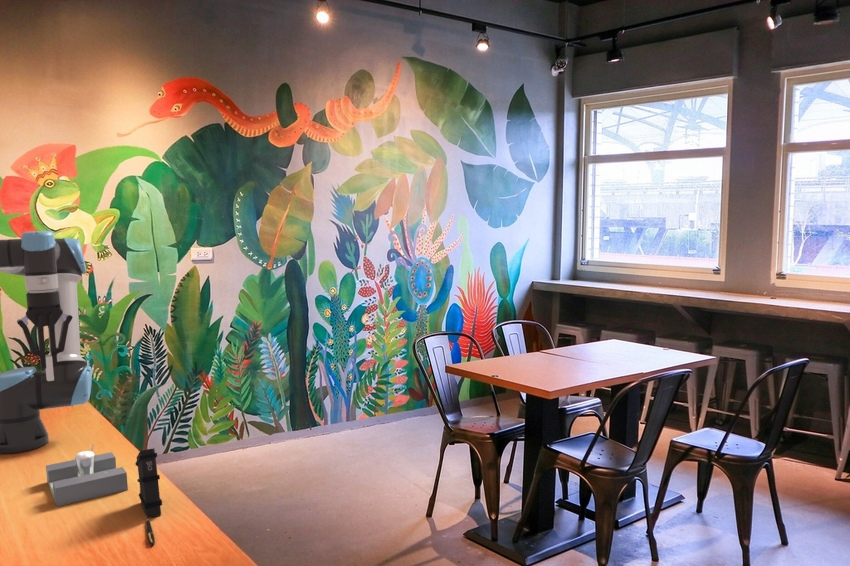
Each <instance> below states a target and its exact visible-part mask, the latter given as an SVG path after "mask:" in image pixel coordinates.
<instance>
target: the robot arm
mask: <svg viewBox="0 0 850 566" xmlns="http://www.w3.org/2000/svg"><path fill="white" fill-rule="evenodd" d="M0 272H2V273H3V274H9V275H13V276H14V275H16V276H23V277H24V283H25V284H24V286H25V287H24V288H25V290H26V291H27V292H26V294H25V295H26V296H25V297H26V298H25V299H26V307H27V308H26V309H27V310H26V312H25V315H24V316H22V317H21V318H20V319H17V320H16V323H17V325H19V327H20V328H21V329H22V332H23V334H24V337H25V340H26V342H27V345H28V347H29V349H30V352H31V355H33V356H38V357H39V362H40V363H39V365H40V368H41V369H42V370H41V371H39V370H37V368H36V367H35V366H24V367H19V368H14V369H10V370H7V371H4V372H1V373H0V454H1V455H3V454H5V455H6V454H17V453H23V452H28V451H32V450H35V449H38V448H41V447H43V446H45V445H47V444H48V443H49V441H50V440H49V433H48V431H47V429H46V427H45V425H44V423H43V421H42V419H41V413H40V410H47V409H55V408H57V409H58V408H64V407H74V406H79V405H85V404H87V403H88V402H89V400H90V397H91V391H92V381H93V380H92V379H93V369H92V367H91V366H90V365H87V360H86V359H84V358H83V357H82V356H81V355H82V353H81V340H80V339H81V338H80V336H81V335H80V321H79V320H80V318H79V303H78V302H79V301H78V299H79V298H78V297H79V296H78V283H80V282H81V281H82V279H83V277H82V275H84V274H86V273H87V268H86V262H85V258H84V252H83V249H82V244H81V242H80V241H79V239H77V238H66V237H63V238H55V234H54V232H53V231H50V230H48V231H45V230H42V231H38V230H37V231H24V232H23V233H22V234H21V238H11V239H10V238H9V239H0ZM29 321H30V322H31V323H32V324H33V325H34V326H35V327H36V330H37V341H38V349H37V347H36V344H35V342H34V339H33V337H32V334H31V331H30V329H29V327H28V325H29ZM44 327H47V328H48V329H47V331H48V342H49V343H48V347H49V349H48V350H49V354H46V345H45V344H46V343H45V331H44V330H45V329H44Z"/></svg>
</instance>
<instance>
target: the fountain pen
mask: <svg viewBox="0 0 850 566" xmlns="http://www.w3.org/2000/svg"><path fill="white" fill-rule="evenodd" d="M145 523H146V532H147V538H148V542H149V545H150V546H152V547H154V546H155V543H156V542H155V541H156V539H155V534H154V533H153V527H152V524H151V521H150V518H146V521H145Z"/></svg>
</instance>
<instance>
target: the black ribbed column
mask: <svg viewBox="0 0 850 566" xmlns="http://www.w3.org/2000/svg"><path fill="white" fill-rule="evenodd" d="M157 457H158V452H155V448H154V447H152V448H149V449H143V450H139V452H138V454H137V455H136V461H135V467H137V472H138V473H137V474H138V478H137V482H138V483H139V493H138V498H139V499H140V502H141V503H140V504H141V506H142V508H143V511H144V514H145V516H146V519H151V518H156V517H160V516H162V511H161V509H162V508H161V506H163V500H162V499H161V496H160V485H159V480H160V479H161V477H160V476H161V475H160V474H158V468H157V466H158V465H157V459H156V458H157Z"/></svg>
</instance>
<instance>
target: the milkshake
mask: <svg viewBox="0 0 850 566" xmlns="http://www.w3.org/2000/svg"><path fill="white" fill-rule="evenodd" d="M94 445H95V444H92V445H91V449H90V450H84V451H80V452H78V453H76V454H75V455H74V460H75V462H76V467H77V472H78V476H83V475H87V474H92V473H94V456H95V453H94V451H93V450H94Z"/></svg>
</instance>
